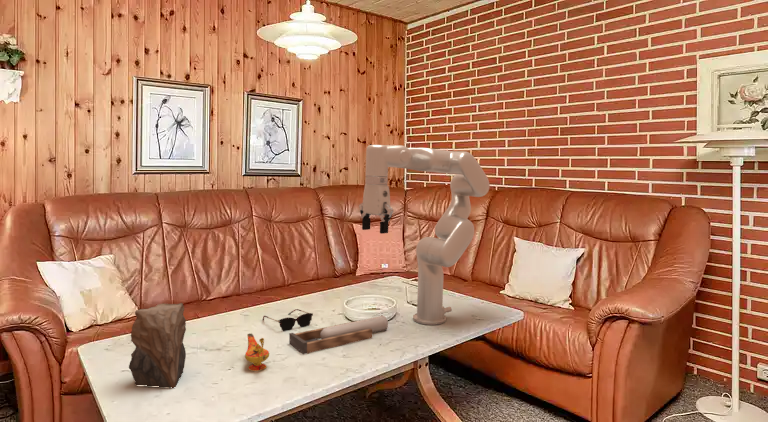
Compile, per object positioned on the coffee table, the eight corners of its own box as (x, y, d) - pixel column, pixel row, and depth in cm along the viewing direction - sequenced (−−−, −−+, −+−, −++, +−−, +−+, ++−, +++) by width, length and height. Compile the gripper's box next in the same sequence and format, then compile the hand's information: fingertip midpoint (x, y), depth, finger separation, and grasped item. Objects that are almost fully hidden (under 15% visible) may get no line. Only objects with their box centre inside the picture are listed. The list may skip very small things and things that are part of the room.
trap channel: (356, 329, 181) (356, 319, 181) (372, 338, 173) (372, 328, 172) (289, 343, 166) (289, 333, 166) (303, 354, 158) (303, 343, 157)
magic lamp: (260, 352, 159) (260, 318, 157) (275, 375, 143) (275, 337, 141) (238, 355, 156) (237, 321, 154) (250, 379, 140) (250, 340, 138)
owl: (127, 386, 134) (124, 313, 132) (152, 367, 147) (150, 299, 144) (174, 389, 133) (171, 315, 131) (195, 369, 146) (193, 301, 144)
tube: (326, 334, 164) (389, 321, 178) (318, 325, 168) (381, 312, 182) (323, 348, 166) (386, 333, 180) (316, 338, 170) (378, 324, 184)
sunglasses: (279, 333, 176) (278, 319, 176) (259, 324, 189) (258, 310, 188) (313, 325, 185) (313, 312, 185) (292, 317, 197) (291, 304, 197)
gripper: (401, 182, 168) (399, 234, 170) (369, 180, 181) (367, 227, 183) (384, 182, 163) (382, 235, 165) (352, 180, 176) (351, 228, 178)
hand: (374, 231), depth 174 cm, fingers open, 9 cm apart
